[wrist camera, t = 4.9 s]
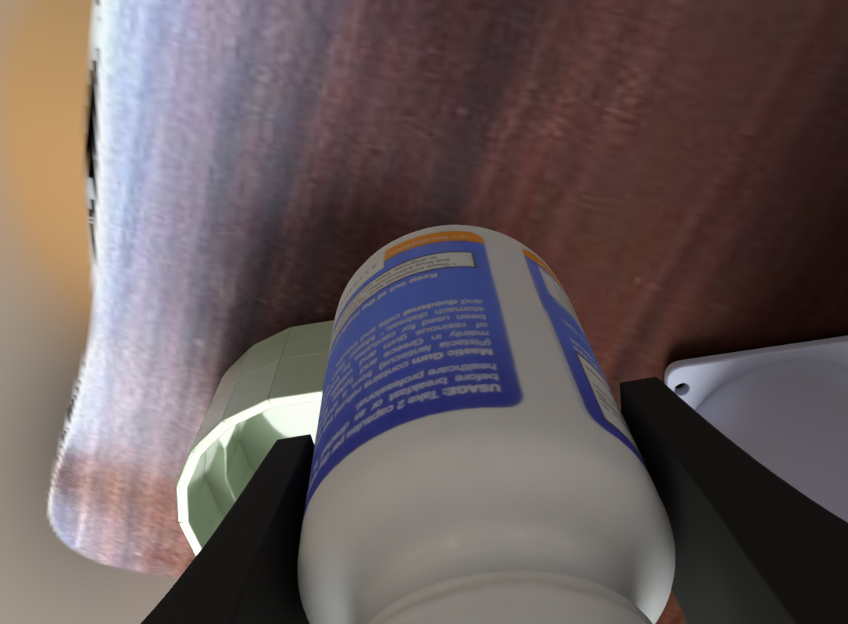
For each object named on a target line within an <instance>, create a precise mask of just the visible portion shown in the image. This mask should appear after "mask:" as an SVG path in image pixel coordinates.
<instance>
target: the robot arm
mask: <svg viewBox="0 0 848 624" xmlns="http://www.w3.org/2000/svg"><path fill="white" fill-rule="evenodd" d="M681 383H685V385H684V386H683V387H681V388H675V387H676V386H677V385H678V384H681ZM620 395H621V413H622V415H623V417H624V419H625V422H626V424H627V426H628V428H629V430H630V432H631V434H632V437H633V439H634V441H635V443H636V445H637V447H638V449H639V452H640V454H641V456H642V458H643V460H644V462H645V464H646V466H647V468H648V470H649V472H650V475H651V478H652V480H653V483H654V485H655V487H656V490H657V492H658V494H659V497H660V499H661V501H662V503H663V505H664V507H665V509H666V512H667V515H668V518H669V521H670V524H671V528H672V532H673V537H674V543H675V573H674V579H673V583H672V588H671V589H672V591H673V593H674V595H675V598H676V600H677V602H678V604H679V606H680V608H681V611H682V613H683V615H684V617H685V619H686V621H687V624H848V335H847V336H841V337H834V338H827V339H820V340H813V341H807V342H800V343H793V344H786V345H780V346H773V347H766V348H759V349H752V350H746V351H739V352H732V353H725V354H719V355H712V356H705V357H698V358H691V359H685V360H678V361H675V362H673V363H671V364H670V365H669V366H668V367H667V368H666V370H665V374H664V382H662V381H661V380H660V379H658V378H657V377H653V378H646V379H640V380H634V381H628V382H622V383H620ZM314 447H315V445H314V443H313V440H312V437H311V434H308V435H302V436H296V437H290V438H284V439H278V440H277V441H276V442H275V444H274V445H273V446H272V448H271V449H270V451H269V452H268V454H267V455H266V457H265V458H264V460H263V461H262V463H261V464H260V466H259V467H258V469H257V470H256V472H255V473H254V475H253V476H252V478H251V479H250V481H249V482H248V484H247V485H246V487H245V488H244V490H243V491H242V493H241V494H240V496H239V497H238V499H237V500H236V502H235V503H234V505H233V506H232V507H231V509H230V510H229V512H228V513H227V515H226V516H225V517H224V519H223V520H222V522H221V523H220V525H219V526H218V527H217V529H216V530H215V532H214V533H213V535H212V536H211V537H210V539H209V540H208V541H207V543H206V544H205V545H204V547H203V548H202V549H201V551H200V552H199V553H198V555H197V556H196V557H195V559H194V560H193V561H192V562H191V564H190V565H189V566H188V568H187V569H186V570H185V572H184V573H183V574H182V575H181V577H180V578H179V579H178V581H177V582H176V583H175V584H174V586H173V587H172V588H171V589H170V591H169V592H168V593H167V594H166V595H165V597H164V598H163V599H162V600H161V601H160V602H159V604H158V605H157V606H156V607H155V609H153V611H152V612H151V613H150V614H149V615H148V616H147V617H146V619H144V621H143V622H142V623H141V624H310V623H309V621H308V619H307V616H306V613H305V611H304V609H303V605H302V602H301V598H300V592H299V586H298V576H297V570H298V552H299V545H300V537H301V529H302V521H303V516H304V510H305V504H306V497H307V491H308V486H309V480H310V473H311V466H312V460H313V453H314Z"/></svg>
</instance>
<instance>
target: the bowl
mask: <svg viewBox="0 0 848 624" xmlns="http://www.w3.org/2000/svg"><path fill="white" fill-rule="evenodd" d="M333 325H334V320H332V321H325V322H319V323H313V324H307V325H300V326H294V327H291V328H288V329H286V330H283V331H281V332H279V333H277V334H275V335H273V336H271V337H269V338H267V339H265V340H263V341H261V342H259V343H257V344H255V345H253V346H252V347H251V348H249V349H248V350H247V351H246V352H245V353H244V354H243V355H242V356H241V357H240V358H239V359H238V360H237V361H236V362H235V363H234V364H233V365H232V366H231V367H230V368H229V369H228V370H227V371H226V372H225V374H224V376H223V377H222V379H221V381H220V383H219V386H218V388H217V390H216V393H215V395H214V397H213V399H212V402H211V404H210V406H209V409H208V411H207V413H206V415H205V418H204V420H203V422H202V424H201V427H200V429H199V431H198V434H197V436H196V438H195V440H194V443H193V445H192V447H191V449H190V452H189V454H188V457H187V459H186V462H185V464H184V467H183V469H182V471H181V474H180V476H179V479H178V481H177V484H176V494H177V510H178V522H179V525H180V527H181V529H182V530H183V532H184V534H185V536H186V538H187V540H188V542H189V544H190V546H191V548H192V550H193V552H194V554H195V555H196V556H197V555H198V553H199V552H200V551H201V549H202V548H203V547H204V545H205V544H206V543H207V541H208V540H209V539H210V537H211V536H212V535H213V533H214V532H215V530H216V529H217V527H218V526H219V525H220V523H221V522H222V520H223V519H224V517H225V516H226V515H227V513H228V512H229V510H230V509H231V507H232V506H233V505H234V503H235V502H236V500H237V499H238V497H239V496H240V494H241V493H242V491H243V490H244V488H245V487H246V485H247V484H248V482H249V481H250V479H251V478H252V476H253V475H254V473H255V472H256V470H257V469H258V467H259V466H260V464H261V463H262V461H263V460H264V458H265V457H266V455H267V454H268V452H269V451H270V449H271V448H272V446H273V445H274V444H275V442H276V441H277V440H278V439H284V438H290V437H296V436H302V435H308V434H311V437H312V440H313V443H314V445H315V440H316V433H317V426H318V420H319V414H320V408H321V401H322V395H323V388H324V381H325V375H326V368H327V362H328V355H329V349H330V343H331V336H332V330H333Z"/></svg>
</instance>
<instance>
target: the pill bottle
mask: <svg viewBox="0 0 848 624" xmlns="http://www.w3.org/2000/svg"><path fill="white" fill-rule="evenodd" d="M674 573H675V543H674V537H673V532H672V528H671V524H670V521H669V518H668V515H667V512H666V509H665V507H664V505H663V503H662V501H661V499H660V497H659V494H658V492H657V490H656V487H655V485H654V483H653V480H652V478H651V475H650V472H649V470H648V468H647V466H646V464H645V462H644V460H643V458H642V456H641V454H640V452H639V449H638V447H637V445H636V443H635V441H634V439H633V437H632V434H631V432H630V430H629V428H628V426H627V424H626V422H625V419H624V417H623V415H622V413H621V411H620V409H619V406H618V404H617V402H616V400H615V398H614V396H613V394H612V392H611V390H610V388H609V386H608V384H607V381H606V379H605V377H604V375H603V373H602V371H601V368H600V366H599V364H598V362H597V360H596V358H595V355H594V353H593V351H592V349H591V347H590V345H589V342H588V340H587V338H586V336H585V333H584V331H583V329H582V327H581V324H580V322H579V320H578V318H577V316H576V313H575V311H574V309H573V307H572V305H571V302H570V300H569V298H568V296H567V294H566V292H565V290H564V289H563V287H562V285H561V283H560V282H559V280H558V279H557V277H556V276H555V274H554V273H553V271H552V270H551V269H550V268H549V267H548V265H547V264H546V263H545V262H544V261H543V260H542V259H541V258H540V257H539V256H538V255H537V254H535V253H534V252H533V251H532V250H530V249H529V248H528V247H526V246H525V245H523V244H521V243H520V242H518V241H516V240H515V239H513V238H511V237H509V236H506V235H504V234H502V233H499V232H496V231H493V230H490V229H486V228H482V227H476V226H469V225H443V226H435V227H430V228H425V229H422V230H419V231H415V232H412V233H409V234H407V235H405V236H402V237H400V238H398V239H396V240H394V241H392V242H390V243H389V244H387V245H385V246H384V247H382V248H381V249H379V250H378V251H377V252H376V253H374V254H373V255H372V256H371V257H370V258H369V259H368V260H367V261H366V262H365V263H364V264H363V265H362V266H361V267H360V268H359V269H358V270H357V271H356V273H355V274H354V275H353V277H352V278H351V280H350V281H349V283H348V284H347V286H346V288H345V290H344V292H343V294H342V296H341V299H340V302H339V305H338V308H337V311H336V315H335V320H334V325H333V330H332V336H331V343H330V349H329V355H328V362H327V368H326V375H325V381H324V388H323V395H322V401H321V408H320V414H319V420H318V426H317V433H316V440H315V447H314V453H313V460H312V466H311V473H310V480H309V486H308V491H307V497H306V504H305V510H304V516H303V521H302V529H301V537H300V545H299V552H298V570H297V576H298V586H299V592H300V598H301V602H302V605H303V609H304V611H305V613H306V616H307V619H308V621H309V623H310V624H655V623H656V622H657V620H658V618H659V617H660V615H661V613H662V612H663V610H664V607H665V605H666V603H667V600H668V598H669V595H670V591H671V588H672V583H673V579H674Z"/></svg>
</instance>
